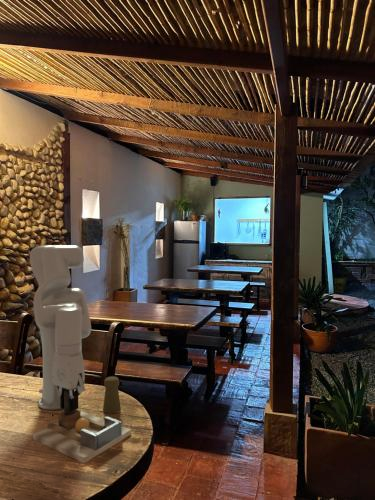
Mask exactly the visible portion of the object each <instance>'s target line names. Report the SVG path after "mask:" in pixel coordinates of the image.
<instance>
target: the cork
mask: <svg viewBox="0 0 375 500" xmlns="http://www.w3.org/2000/svg"><path fill="white" fill-rule="evenodd" d="M103 386H104V388H105V389H104V390H105V391H104V398H103V399H104V400H103V408H102V412H103V413H105V414H116V413H118V412H120V411H121V410H122V407H121V401H120V395H119V393H120V392H119V386H120V379H119V378H118V377H117V376H108V377H106V378H105V379H104V382H103Z"/></svg>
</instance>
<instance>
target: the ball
mask: <svg viewBox="0 0 375 500" xmlns="http://www.w3.org/2000/svg"><path fill="white" fill-rule="evenodd" d="M75 427H76V430H77V431H78V432H80V430H81V429H86V430H88V428H89V421H88V419H86V418H80V419H78V420H77V422H76V425H75Z"/></svg>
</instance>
